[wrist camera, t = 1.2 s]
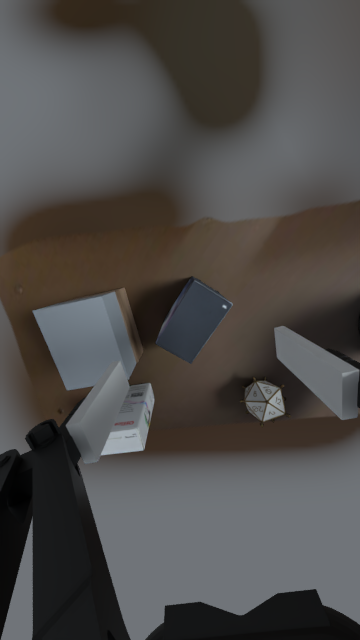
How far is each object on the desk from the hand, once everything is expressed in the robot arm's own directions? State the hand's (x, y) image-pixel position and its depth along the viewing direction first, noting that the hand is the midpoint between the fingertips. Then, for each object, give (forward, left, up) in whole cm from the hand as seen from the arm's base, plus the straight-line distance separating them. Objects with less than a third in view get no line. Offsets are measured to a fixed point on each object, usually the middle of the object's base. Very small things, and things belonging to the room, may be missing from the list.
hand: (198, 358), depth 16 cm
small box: (0, 0, -20) cm, 20 cm away
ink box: (+16, +16, -20) cm, 30 cm away
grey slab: (+16, 0, -15) cm, 22 cm away
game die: (-10, +20, -20) cm, 30 cm away
